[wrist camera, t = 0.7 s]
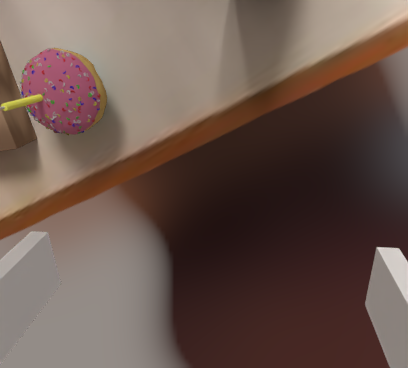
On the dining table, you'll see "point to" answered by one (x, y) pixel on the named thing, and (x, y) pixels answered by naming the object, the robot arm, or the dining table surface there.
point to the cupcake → (61, 91)
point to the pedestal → (12, 111)
